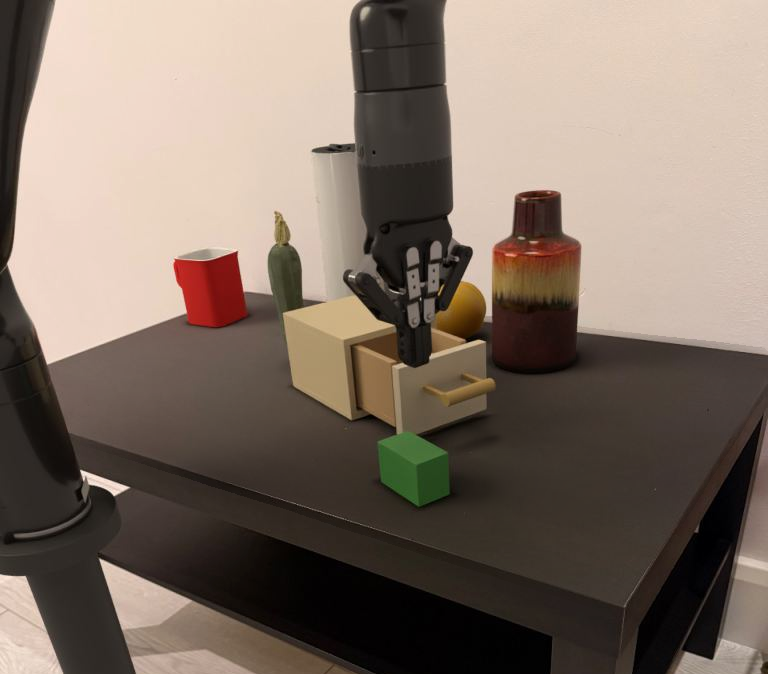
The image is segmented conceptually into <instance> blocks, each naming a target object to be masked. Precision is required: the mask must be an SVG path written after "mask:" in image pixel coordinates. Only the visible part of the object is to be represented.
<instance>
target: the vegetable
mask: <svg viewBox="0 0 768 674" xmlns="http://www.w3.org/2000/svg"><path fill="white" fill-rule="evenodd" d="M273 212H274V213H273V214H274V215H275V216H274V230H273V236H274V241H275V244H273V246H271V248H270V250H269V252H268V254H267V273H268V279H269V284H270V290H271V294H272V296H273V299H274V302H275V306H276V310H277V314H278V318H279V322H280V328H281V333H282V336H283V340H284V343H285V345H286V348H287V349H288V346H287V339H286V332H285V325H284V318H283V313H285V312H289V311H293V310H297V309H301V308H305V305H304V301H303V298H304V297H303V268H302V267H303V266H302V261H301V257H300V254H299V252H298V250H297V249H296V248H295V247H294V246H293V245H291V244H290V240H291V237H292V236H291V231H290V228H289V225H288V224H287V221H286V220H285V219H284V217H283V214H282V213H281V212H279V211H277V210H274V211H273Z"/></svg>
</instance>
